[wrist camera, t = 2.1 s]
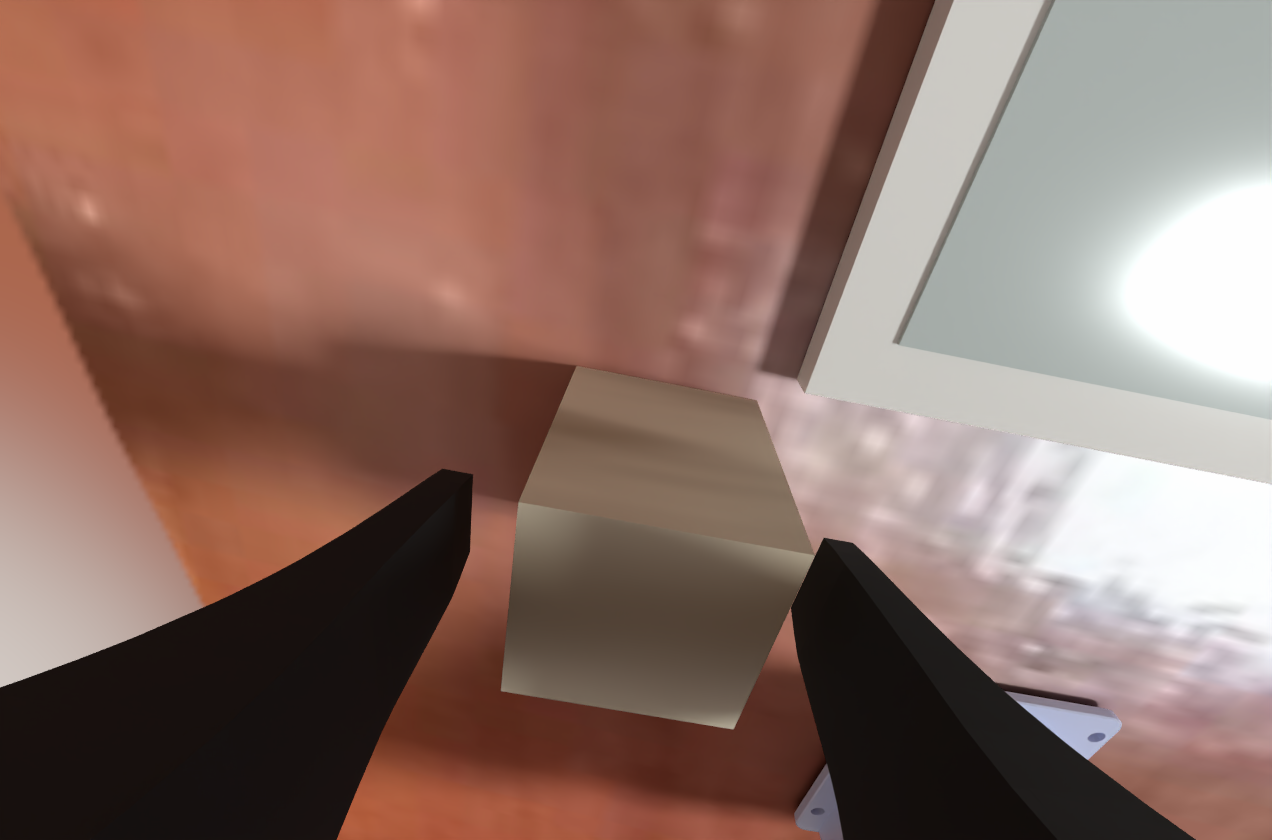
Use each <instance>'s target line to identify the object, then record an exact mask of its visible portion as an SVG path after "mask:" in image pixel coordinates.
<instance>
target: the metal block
mask: <svg viewBox="0 0 1272 840" xmlns="http://www.w3.org/2000/svg"><path fill="white" fill-rule="evenodd" d="M814 556H815V555H814V552H813V549H812V547H811V544H810V541H809V539H808V536H807V533H806V531H805V528H804V525H803V523H802V520H801V517H800V515H799V512H798V509H797V507H796V504H795V501H794V499H793V496H792V493H791V491H790V488H789V485H788V483H787V480H786V477H785V475H784V472H783V469H782V467H781V464H780V461H779V459H778V456H777V453H776V451H775V448H774V445H773V443H772V440H771V437H770V435H769V432H768V429H767V427H766V424H765V421H764V419H763V416H762V413H761V411H760V408H759V405H758V403H757V400H752V399H747V398H742V397H736V396H731V395H726V394H721V393H716V392H710V391H705V390H700V389H695V388H690V387H685V386H679V385H674V384H669V383H664V382H659V381H653V380H648V379H643V378H638V377H633V376H627V375H622V374H617V373H612V372H607V371H601V370H596V369H591V368H586V367H581V366H576V368H575V371H574V373H573V375H572V378H571V380H570V382H569V385H568V387H567V389H566V392H565V394H564V396H563V399H562V401H561V403H560V406H559V408H558V410H557V413H556V415H555V417H554V420H553V422H552V425H551V427H550V429H549V432H548V434H547V436H546V439H545V441H544V443H543V446H542V448H541V450H540V453H539V455H538V457H537V460H536V462H535V464H534V467H533V469H532V471H531V474H530V476H529V478H528V481H527V483H526V485H525V488H524V490H523V493H522V495H521V497H520V500H519V502H518V513H517V523H516V534H515V545H514V555H513V566H512V577H511V587H510V598H509V609H508V620H507V630H506V641H505V652H504V662H503V673H502V684H501V691H504V692H510V693H516V694H522V695H528V696H534V697H540V698H546V699H552V700H558V701H564V702H570V703H576V704H582V705H588V706H594V707H600V708H606V709H612V710H618V711H624V712H630V713H637V714H643V715H649V716H655V717H661V718H667V719H673V720H679V721H685V722H691V723H697V724H703V725H709V726H715V727H721V728H727V729H733V730H734V727H735V725H736V723H737V721H738V719H739V717H740V715H741V712H742V710H743V708H744V706H745V704H746V702H747V700H748V697H749V695H750V693H751V691H752V689H753V687H754V685H755V682H756V680H757V678H758V676H759V674H760V672H761V670H762V667H763V665H764V663H765V661H766V659H767V657H768V655H769V652H770V650H771V648H772V646H773V644H774V642H775V640H776V637H777V635H778V633H779V631H780V629H781V627H782V625H783V622H784V620H785V618H786V616H787V614H788V612H789V610H790V607H791V605H792V603H793V601H794V599H795V597H796V595H797V592H798V590H799V588H800V586H801V584H802V582H803V580H804V577H805V575H806V573H807V571H808V569H809V567H810V565H811V562H812V560H813V558H814Z"/></svg>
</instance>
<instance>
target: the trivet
mask: <svg viewBox="0 0 1272 840" xmlns="http://www.w3.org/2000/svg"><path fill="white" fill-rule="evenodd" d="M797 381H798V383H799V384H800V386H801V388H802V389H803V391H804V393H806V394H811V395H816V396H821V397H826V398H831V399H836V400H842V401H847V402H852V403H857V404H862V405H867V406H872V407H877V408H883V409H888V410H893V411H898V412H903V413H908V414H913V415H919V416H924V417H929V418H934V419H939V420H944V421H949V422H955V423H960V424H965V425H970V426H975V427H980V428H985V429H990V430H996V431H1001V432H1006V433H1011V434H1016V435H1021V436H1026V437H1032V438H1037V439H1042V440H1047V441H1052V442H1057V443H1062V444H1067V445H1073V446H1078V447H1083V448H1088V449H1093V450H1098V451H1103V452H1109V453H1114V454H1119V455H1124V456H1129V457H1134V458H1139V459H1145V460H1150V461H1155V462H1160V463H1165V464H1170V465H1175V466H1180V467H1186V468H1191V469H1196V470H1201V471H1206V472H1211V473H1216V474H1222V475H1227V476H1232V477H1237V478H1242V479H1247V480H1252V481H1257V482H1263V483H1268V484H1272V0H935V3H934V5H933V8H932V11H931V13H930V16H929V19H928V22H927V24H926V27H925V30H924V33H923V35H922V38H921V41H920V44H919V46H918V49H917V52H916V55H915V57H914V60H913V63H912V65H911V68H910V71H909V74H908V76H907V79H906V82H905V85H904V87H903V90H902V93H901V96H900V98H899V101H898V104H897V106H896V109H895V112H894V115H893V117H892V120H891V123H890V126H889V128H888V131H887V134H886V137H885V139H884V142H883V145H882V148H881V150H880V153H879V156H878V158H877V161H876V164H875V167H874V169H873V172H872V175H871V178H870V180H869V183H868V186H867V189H866V191H865V194H864V197H863V200H862V202H861V205H860V208H859V210H858V213H857V216H856V219H855V221H854V224H853V227H852V230H851V232H850V235H849V238H848V241H847V243H846V246H845V249H844V252H843V254H842V257H841V260H840V262H839V265H838V268H837V271H836V273H835V276H834V279H833V282H832V284H831V287H830V290H829V293H828V295H827V298H826V301H825V304H824V306H823V309H822V312H821V314H820V317H819V320H818V323H817V325H816V328H815V331H814V334H813V336H812V339H811V342H810V345H809V347H808V350H807V353H806V356H805V358H804V361H803V364H802V366H801V369H800V372H799V375H798V377H797Z"/></svg>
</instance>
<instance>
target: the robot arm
mask: <svg viewBox="0 0 1272 840" xmlns="http://www.w3.org/2000/svg"><path fill="white" fill-rule="evenodd" d="M472 483H473V474H468V473H462V472H457V471H451V470H446V469H441V470H440V471H438V472H437V473H435V474H434V475H432V476H431V477H429V478H428V479H426V480H425V481H423V482H422V483H420V484H419V485H417V486H416V487H414V488H413V489H411V490H410V491H408V492H407V493H405V494H404V495H403V496H401V497H400V498H398V499H397V500H395V501H394V502H392V503H391V504H389V505H388V506H386V507H385V508H383V509H382V510H380V511H379V512H377V513H375V514H374V515H372V516H371V517H369V518H368V519H366V520H365V521H363V522H362V523H360V524H358V525H357V526H355V527H354V528H352V529H351V530H349V531H347V532H346V533H344V534H343V535H341V536H339V537H338V538H336V539H334V540H332V541H331V542H329V543H327V544H326V545H324V546H322V547H321V548H319V549H317V550H316V551H314V552H312V553H310V554H309V555H307V556H305V557H304V558H302V559H300V560H298V561H296V562H295V563H293V564H291V565H289V566H287V567H285V568H284V569H282V570H280V571H278V572H276V573H274V574H272V575H270V576H268V577H266V578H264V579H262V580H260V581H258V582H256V583H254V584H252V585H250V586H248V587H246V588H244V589H242V590H240V591H238V592H236V593H234V594H232V595H230V596H228V597H226V598H223V599H221V600H219V601H217V602H215V603H213V604H210V605H208V606H206V607H203V608H201V609H199V610H197V611H195V612H192V613H190V614H187V615H185V616H183V617H180V618H178V619H176V620H174V621H171V622H169V623H167V624H164V625H162V626H160V627H157V628H155V629H153V630H150V631H148V632H146V633H144V634H141V635H139V636H137V637H134V638H132V639H129V640H127V641H124V642H122V643H119V644H117V645H114V646H112V647H109V648H106V649H104V650H101V651H99V652H96V653H93V654H91V655H88V656H86V657H83V658H80V659H78V660H76V661H72V662H70V663H67V664H64V665H62V666H59V667H56V668H53V669H51V670H48V671H45V672H43V673H40V674H37V675H34V676H32V677H29V678H26V679H23V680H21V681H18V682H15V683H12V684H9V685H6V686H3V687H1V688H0V840H336V839H337V837H338V835H339V832H340V830H341V827H342V825H343V822H344V820H345V818H346V815H347V813H348V810H349V808H350V805H351V803H352V800H353V798H354V796H355V793H356V791H357V788H358V786H359V784H360V781H361V779H362V777H363V774H364V772H365V770H366V767H367V765H368V763H369V760H370V758H371V756H372V753H373V751H374V749H375V746H376V744H377V742H378V739H379V737H380V735H381V732H382V730H383V728H384V726H385V724H386V722H387V720H388V718H389V716H390V714H391V712H392V710H393V708H394V706H395V704H396V702H397V700H398V698H399V696H400V694H401V693H402V691H403V689H404V687H405V685H406V683H407V681H408V679H409V678H410V676H411V674H412V672H413V670H414V668H415V666H416V665H417V663H418V661H419V659H420V657H421V655H422V653H423V651H424V650H425V648H426V646H427V644H428V642H429V640H430V638H431V637H432V635H433V633H434V631H435V629H436V627H437V625H438V623H439V621H440V620H441V618H442V616H443V614H444V612H445V610H446V608H447V606H448V604H449V602H450V600H451V599H452V596H453V594H454V591H455V589H456V586H457V584H458V581H459V579H460V576H461V574H462V571H463V568H464V566H465V563H466V560H467V558H468V555H469V553H470V535H471V509H472ZM791 612H792V620H793V628H794V636H795V642H796V649H797V655H798V659H799V663H800V667H801V671H802V675H803V679H804V682H805V686H806V690H807V694H808V697H809V701H810V705H811V708H812V712H813V715H814V719H815V723H816V726H817V730H818V734H819V737H820V741H821V744H822V748H823V752H824V755H825V759H826V762H827V763H826V765H825V767H824V768H823V770H822V771H821V773H820V774H819V776H818V777H817V779H816V780H815V782H814V783H813V785H812V787H811V788H810V790H809V791H808V793H807V794H806V796H805V797H804V799H803V800H802V802H801V804H800V805H799V807H798V808H797V810H796V811H795V814H794V816H795V822H796V825H797V826H798V827H799V828H801V829H804V830H809V831H815V832H819V834H820V838H821V840H1196V839H1194V838H1193V837H1191V836H1190V835H1188V834H1187V833H1186V832H1184V831H1183V830H1181V829H1180V828H1179V827H1177V826H1176V825H1174V824H1173V823H1172V822H1170V821H1169V820H1167V819H1166V818H1165V817H1163V816H1162V815H1160V814H1159V813H1158V812H1156V811H1155V810H1153V809H1152V808H1151V807H1149V806H1148V805H1147V804H1145V803H1144V802H1142V801H1141V800H1140V799H1138V798H1137V797H1136V796H1134V795H1133V794H1132V793H1131V792H1129V791H1128V790H1127V789H1125V788H1124V787H1123V786H1121V785H1120V784H1119V783H1117V782H1116V781H1115V780H1113V779H1112V778H1111V777H1109V776H1108V775H1107V774H1105V773H1104V772H1103V771H1101V770H1100V769H1099V768H1097V767H1096V766H1095V765H1093V764H1092V763H1091V762H1089V761H1088V759H1089V758H1090V757H1091V756H1092V755H1093V754H1094V753H1096V752H1097V751H1098V750H1099V749H1100V748H1101V747H1102V746H1103V745H1104V744H1105V743H1106V742H1107V741H1108V740H1110V739H1111V738H1112V737H1113V736H1114V735H1115V734H1116V733H1117V732H1118V731H1119V730H1120V729H1121V726H1122V722H1121V721H1120V720H1119V719H1118V717H1117V716H1116V715H1115V714H1114V713H1113V711H1111V710H1108V709H1105V708H1100V707H1094V706H1088V705H1082V704H1077V703H1071V702H1065V701H1059V700H1054V699H1048V698H1042V697H1036V696H1031V695H1025V694H1019V693H1013V692H1008V691H1004V690H1003V689H1002V688H1000V687H999V686H998V685H997V684H996V683H995V682H994V681H993V680H992V679H991V678H990V677H988V676H987V675H986V674H985V673H984V672H983V671H982V670H981V669H980V668H979V667H978V666H977V665H976V664H974V663H973V662H972V661H971V660H970V659H969V658H968V657H967V656H966V655H965V654H964V653H963V652H962V651H961V650H960V649H958V648H957V647H956V646H955V645H954V644H953V643H952V642H951V641H950V640H949V639H948V638H947V637H946V636H945V635H944V634H943V633H942V632H941V631H940V630H939V629H938V628H937V627H936V626H935V625H934V624H933V623H932V622H931V621H930V620H929V619H928V618H927V617H926V616H925V615H924V614H923V613H922V612H921V611H920V610H919V609H918V608H917V607H916V606H915V605H914V604H913V603H912V602H911V601H910V600H909V599H908V598H907V597H906V596H905V595H904V593H903V592H902V591H901V590H900V589H899V588H898V587H897V586H896V585H895V584H894V583H893V582H892V581H891V580H890V579H889V578H888V577H887V576H886V575H885V574H884V573H883V572H882V571H881V570H880V569H879V568H878V567H877V566H876V565H875V564H874V563H873V562H872V561H871V560H870V559H869V558H868V557H867V556H866V555H865V554H864V553H863V552H862V551H861V550H860V549H859V548H858V547H857V546H856V545H854V544H853V543H850V542H845V541H839V540H833V539H828V538H823V541H822V543H821V545H820V547H819V549H818V551H817V553H816V555H815V558H814V560H813V562H812V564H811V566H810V568H809V570H808V572H807V575H806V577H805V579H804V581H803V583H802V585H801V587H800V589H799V592H798V594H797V596H796V598H795V600H794V602H793V604H792V606H791Z"/></svg>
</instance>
